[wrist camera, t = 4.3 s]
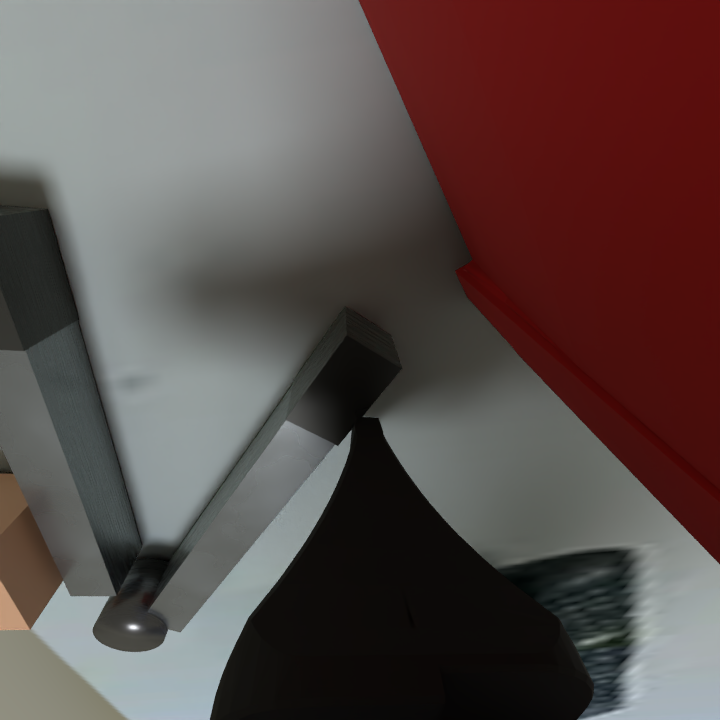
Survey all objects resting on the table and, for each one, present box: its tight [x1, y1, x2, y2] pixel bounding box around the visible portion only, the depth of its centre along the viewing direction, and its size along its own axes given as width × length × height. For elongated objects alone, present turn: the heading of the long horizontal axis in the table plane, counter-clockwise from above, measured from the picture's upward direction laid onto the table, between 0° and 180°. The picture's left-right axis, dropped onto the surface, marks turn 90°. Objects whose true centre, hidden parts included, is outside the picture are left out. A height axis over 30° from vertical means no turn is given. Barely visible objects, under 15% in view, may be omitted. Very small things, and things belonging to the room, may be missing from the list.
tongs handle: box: [0, 205, 142, 596], centre depth 11 cm, size 13×2×2 cm, turn 175°
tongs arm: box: [93, 306, 402, 652], centre depth 13 cm, size 16×3×2 cm, turn 145°
